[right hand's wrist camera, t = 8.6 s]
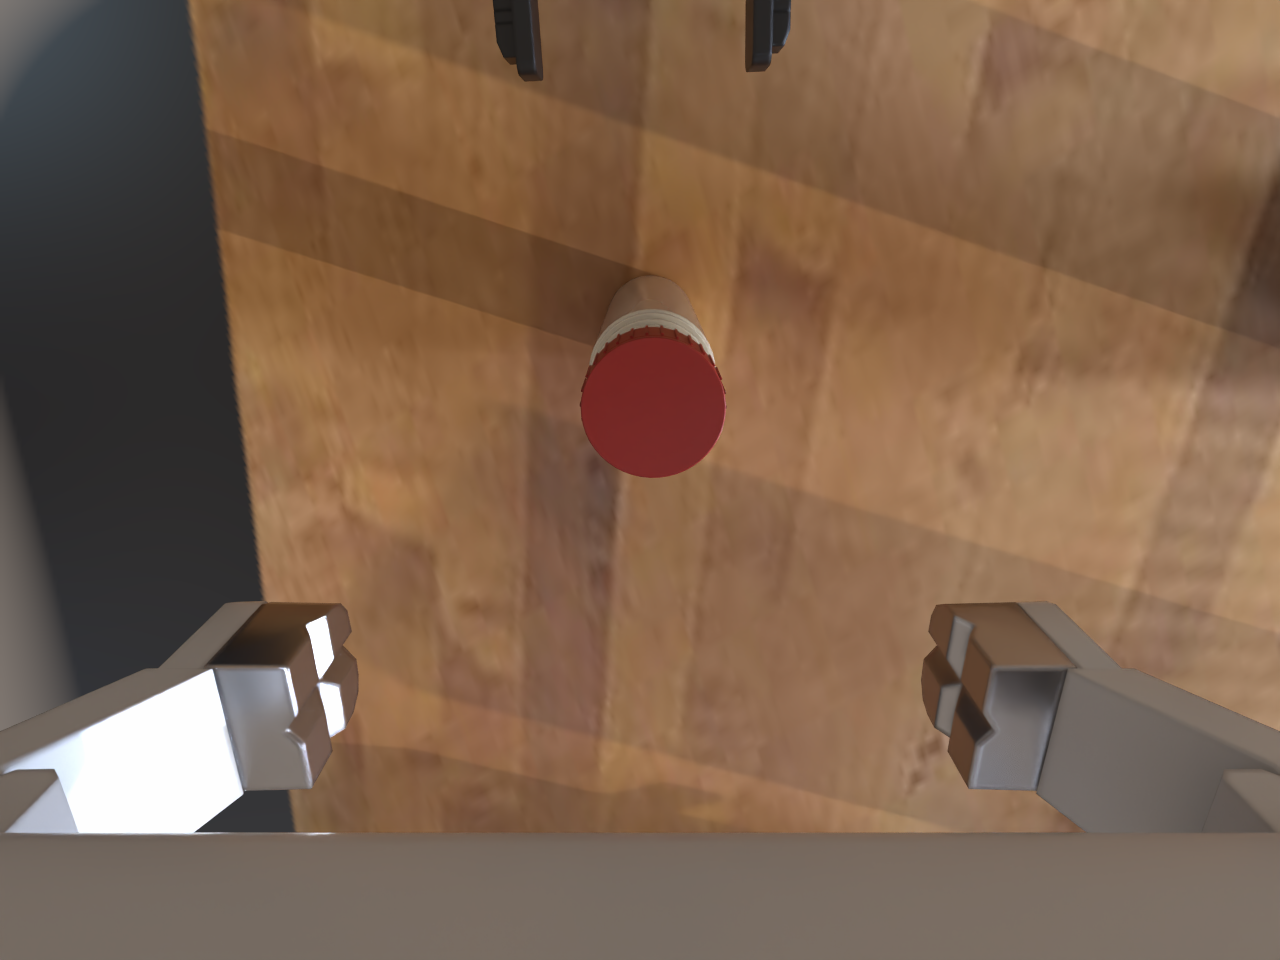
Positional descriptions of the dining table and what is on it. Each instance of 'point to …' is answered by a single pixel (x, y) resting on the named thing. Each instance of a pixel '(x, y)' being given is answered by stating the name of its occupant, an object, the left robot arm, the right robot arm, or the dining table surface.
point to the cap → (653, 402)
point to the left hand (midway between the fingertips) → (644, 73)
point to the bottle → (650, 311)
